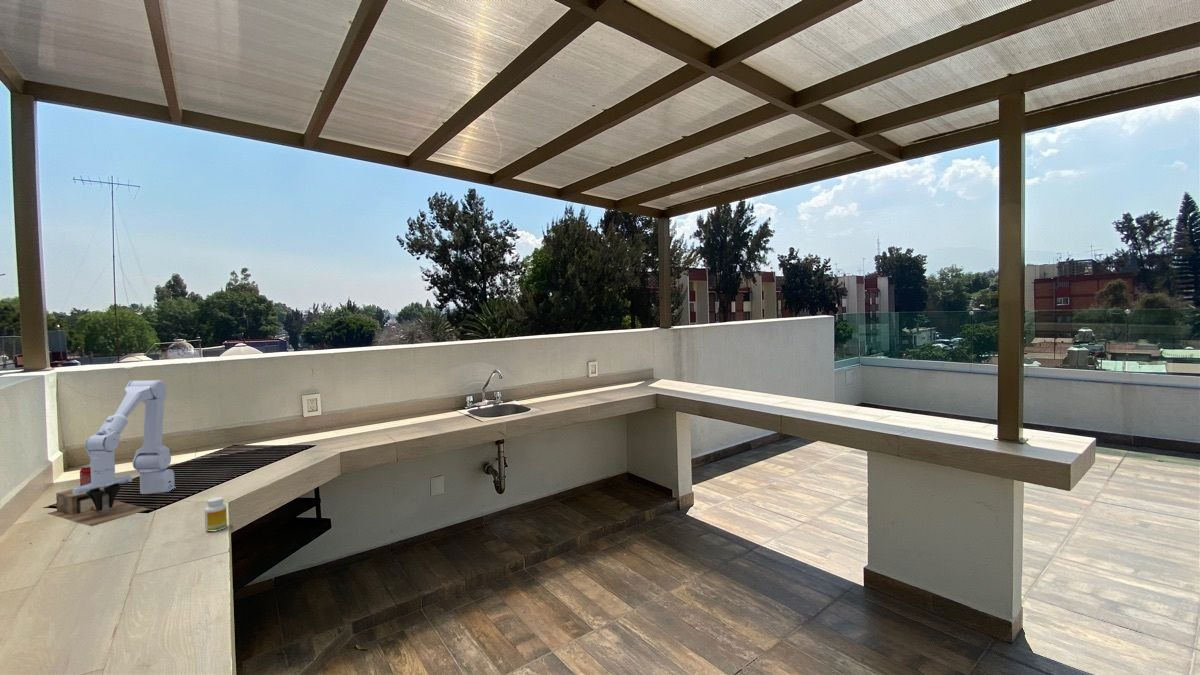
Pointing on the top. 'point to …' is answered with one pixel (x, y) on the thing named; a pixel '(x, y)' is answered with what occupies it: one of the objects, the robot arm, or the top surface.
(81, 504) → the grey handled cream block
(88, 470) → the soda can
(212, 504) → the supplement bottle
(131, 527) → the top surface
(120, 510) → the walnut shelf
